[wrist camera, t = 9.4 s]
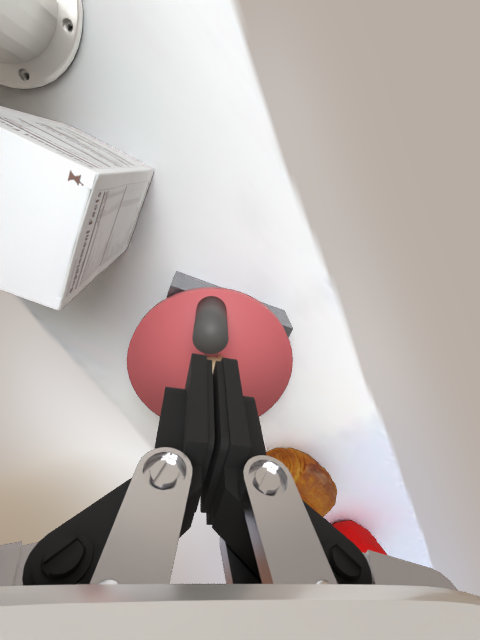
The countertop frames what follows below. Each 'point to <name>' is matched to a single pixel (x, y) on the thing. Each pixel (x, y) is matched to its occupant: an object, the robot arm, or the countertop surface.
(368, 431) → the countertop surface
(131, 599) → the robot arm
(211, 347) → the handwheel
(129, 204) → the supplement box
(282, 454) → the croissant
